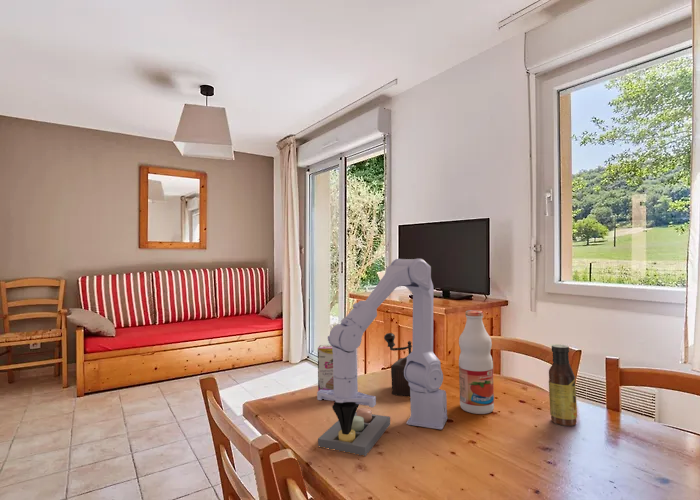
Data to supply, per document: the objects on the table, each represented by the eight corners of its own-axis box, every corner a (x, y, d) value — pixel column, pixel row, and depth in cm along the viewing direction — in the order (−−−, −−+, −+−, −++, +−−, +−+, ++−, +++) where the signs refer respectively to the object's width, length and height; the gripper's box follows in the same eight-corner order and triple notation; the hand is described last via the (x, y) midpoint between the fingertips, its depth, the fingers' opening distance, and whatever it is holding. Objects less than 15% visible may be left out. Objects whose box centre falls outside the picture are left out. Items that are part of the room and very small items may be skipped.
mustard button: (358, 440, 96) (357, 430, 96) (351, 447, 93) (351, 437, 93) (343, 437, 98) (342, 427, 98) (335, 444, 94) (335, 434, 94)
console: (390, 424, 106) (390, 416, 106) (365, 456, 90) (365, 447, 90) (349, 418, 111) (348, 410, 111) (318, 447, 95) (318, 438, 95)
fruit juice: (475, 399, 122) (472, 308, 122) (501, 409, 114) (498, 311, 114) (453, 406, 117) (450, 311, 117) (478, 417, 109) (475, 315, 109)
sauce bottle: (581, 428, 101) (578, 349, 101) (554, 426, 102) (551, 348, 103) (572, 417, 108) (569, 343, 108) (547, 416, 109) (544, 343, 109)
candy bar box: (318, 400, 125) (316, 348, 125) (320, 395, 130) (319, 344, 130) (353, 401, 124) (352, 348, 124) (355, 395, 129) (353, 344, 129)
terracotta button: (374, 418, 107) (373, 409, 107) (368, 424, 103) (368, 414, 103) (360, 416, 108) (360, 407, 108) (354, 421, 105) (354, 412, 105)
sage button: (366, 426, 102) (366, 417, 102) (360, 433, 98) (360, 423, 98) (352, 424, 103) (351, 415, 103) (345, 430, 100) (345, 421, 100)
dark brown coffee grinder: (431, 387, 134) (429, 334, 135) (422, 398, 124) (421, 340, 125) (387, 382, 141) (386, 331, 141) (376, 392, 131) (374, 337, 131)
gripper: (310, 377, 95) (311, 435, 95) (367, 383, 89) (369, 445, 89) (324, 369, 101) (325, 423, 101) (378, 374, 95) (379, 432, 95)
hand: (346, 432), depth 95 cm, fingers closed, pressing on mustard button
